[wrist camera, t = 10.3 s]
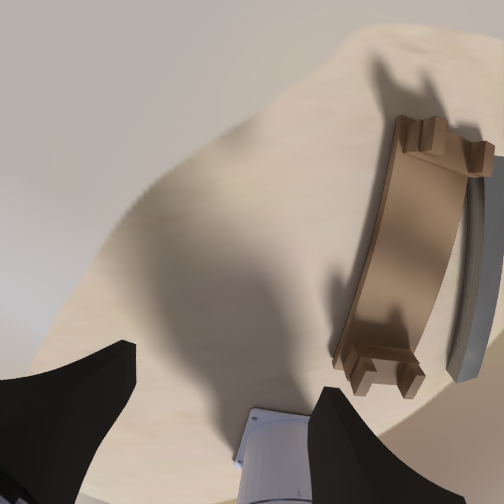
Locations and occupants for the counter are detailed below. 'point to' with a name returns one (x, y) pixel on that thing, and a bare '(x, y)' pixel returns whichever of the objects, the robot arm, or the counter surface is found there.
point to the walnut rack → (408, 253)
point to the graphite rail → (479, 273)
